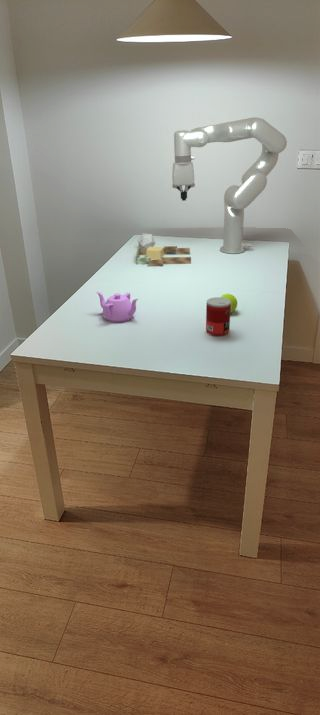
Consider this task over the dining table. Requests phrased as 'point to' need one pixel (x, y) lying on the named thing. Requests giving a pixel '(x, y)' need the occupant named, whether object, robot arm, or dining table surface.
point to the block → (155, 252)
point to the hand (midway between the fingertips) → (183, 200)
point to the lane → (165, 260)
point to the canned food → (218, 316)
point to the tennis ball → (233, 301)
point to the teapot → (118, 307)
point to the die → (146, 241)
